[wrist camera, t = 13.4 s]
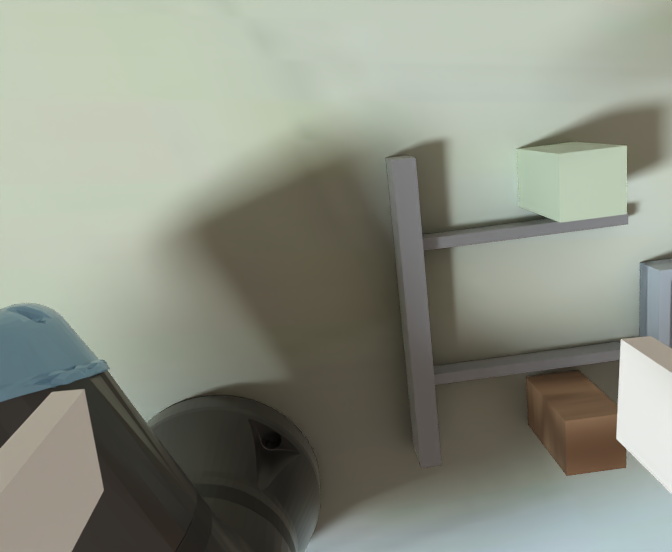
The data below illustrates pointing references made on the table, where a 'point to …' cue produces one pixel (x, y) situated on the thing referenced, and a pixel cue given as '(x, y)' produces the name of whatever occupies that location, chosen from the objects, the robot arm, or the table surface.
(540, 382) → the walnut block
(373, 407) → the table surface
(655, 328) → the slate tray
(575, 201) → the sage block
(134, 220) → the table surface
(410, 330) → the grey bar frame
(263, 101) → the table surface
